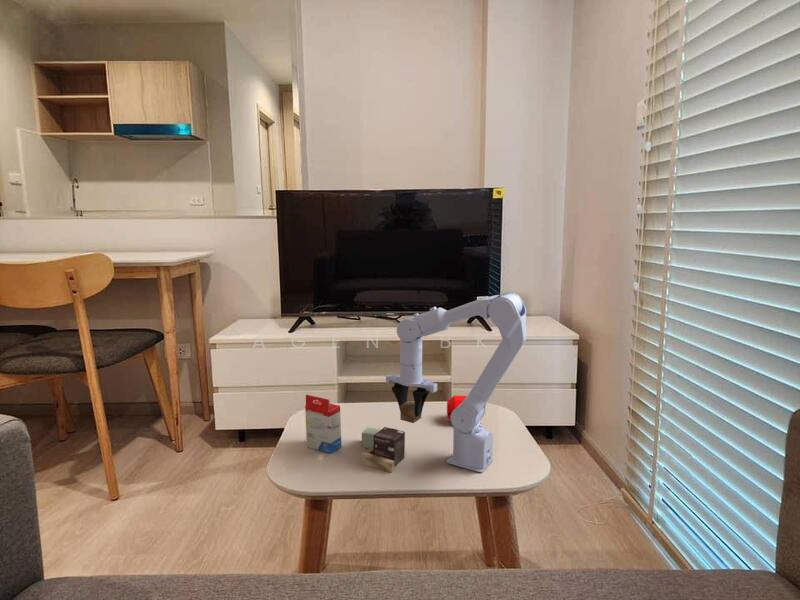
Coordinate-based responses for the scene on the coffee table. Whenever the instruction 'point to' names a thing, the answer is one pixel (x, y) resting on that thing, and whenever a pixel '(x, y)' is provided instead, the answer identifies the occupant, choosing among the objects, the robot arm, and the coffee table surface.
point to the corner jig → (376, 461)
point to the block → (369, 436)
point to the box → (390, 444)
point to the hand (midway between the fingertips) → (410, 413)
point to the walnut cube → (409, 412)
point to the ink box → (322, 424)
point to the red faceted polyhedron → (454, 404)
